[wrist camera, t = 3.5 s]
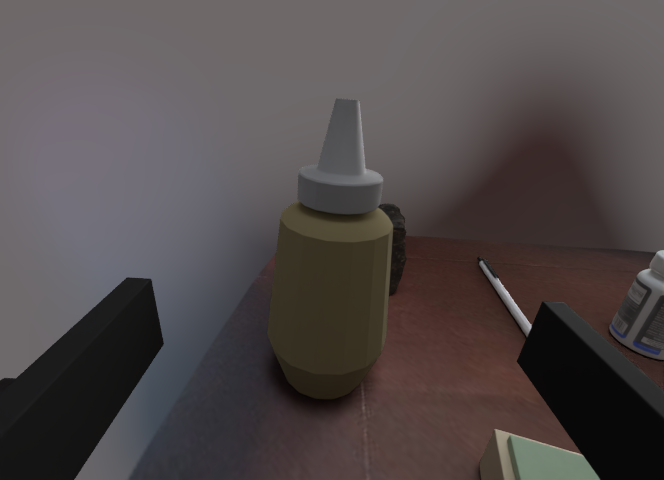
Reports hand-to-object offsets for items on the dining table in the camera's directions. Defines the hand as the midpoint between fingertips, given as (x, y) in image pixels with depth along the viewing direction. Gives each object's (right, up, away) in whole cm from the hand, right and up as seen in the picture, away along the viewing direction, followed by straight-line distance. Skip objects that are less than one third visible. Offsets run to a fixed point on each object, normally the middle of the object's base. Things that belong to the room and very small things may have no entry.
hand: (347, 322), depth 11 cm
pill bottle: (+27, -7, +18) cm, 33 cm away
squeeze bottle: (-1, -7, +12) cm, 14 cm away
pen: (+18, -4, +22) cm, 28 cm away
